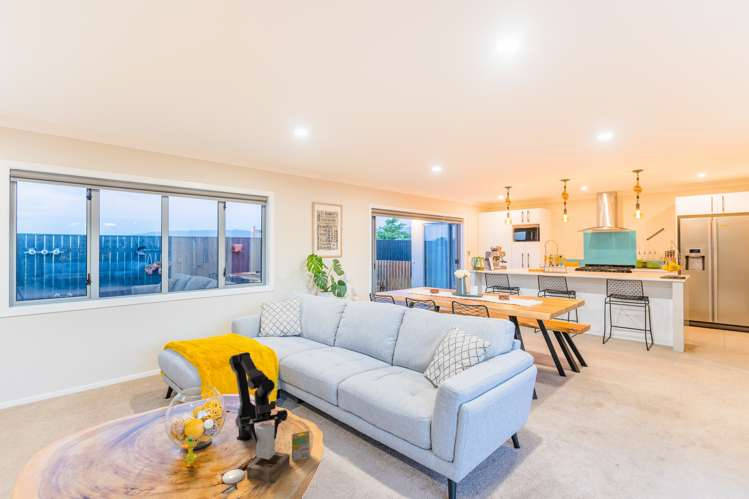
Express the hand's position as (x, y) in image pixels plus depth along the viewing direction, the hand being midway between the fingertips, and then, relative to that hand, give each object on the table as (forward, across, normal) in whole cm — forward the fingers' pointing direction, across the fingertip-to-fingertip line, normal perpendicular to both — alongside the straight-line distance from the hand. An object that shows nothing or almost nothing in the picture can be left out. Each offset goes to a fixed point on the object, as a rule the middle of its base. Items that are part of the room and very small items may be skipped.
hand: (265, 441), depth 145 cm
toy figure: (-3, -29, +23) cm, 37 cm away
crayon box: (+6, +15, +13) cm, 21 cm away
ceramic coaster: (+7, -12, +12) cm, 18 cm away
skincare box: (+4, 0, +6) cm, 7 cm away
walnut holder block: (+9, +1, +10) cm, 13 cm away
